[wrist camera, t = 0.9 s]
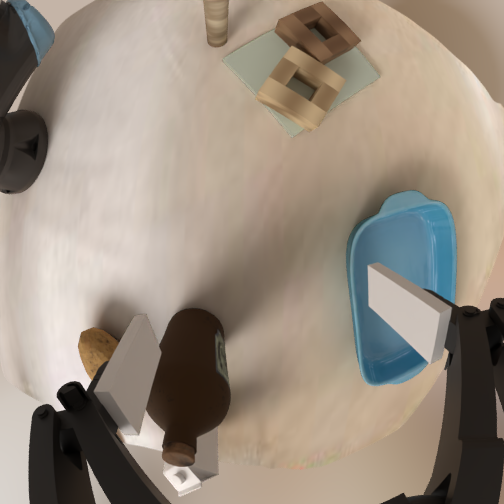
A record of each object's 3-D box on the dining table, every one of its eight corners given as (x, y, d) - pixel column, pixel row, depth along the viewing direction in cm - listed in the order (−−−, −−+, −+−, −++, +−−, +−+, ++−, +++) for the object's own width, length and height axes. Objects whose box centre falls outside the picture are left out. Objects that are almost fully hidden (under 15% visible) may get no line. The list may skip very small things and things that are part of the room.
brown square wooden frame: (274, 32, 31) (278, 19, 27) (314, 13, 31) (321, 1, 27) (312, 71, 34) (321, 61, 30) (350, 50, 33) (361, 40, 29)
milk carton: (217, 417, 49) (219, 492, 30) (198, 431, 50) (195, 501, 31) (189, 402, 47) (181, 480, 29) (171, 417, 48) (160, 490, 30)
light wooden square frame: (255, 99, 34) (258, 90, 30) (285, 56, 33) (291, 45, 29) (309, 132, 36) (318, 127, 32) (336, 88, 34) (346, 80, 31)
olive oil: (168, 357, 44) (140, 477, 20) (160, 304, 41) (109, 421, 17) (228, 357, 45) (236, 483, 21) (226, 303, 42) (232, 430, 18)
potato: (121, 312, 41) (104, 336, 33) (150, 376, 45) (141, 405, 37) (78, 319, 41) (58, 341, 33) (108, 379, 44) (96, 405, 37)
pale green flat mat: (222, 61, 33) (222, 58, 32) (316, 12, 31) (318, 8, 30) (291, 138, 37) (293, 136, 36) (377, 79, 35) (380, 77, 34)
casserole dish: (321, 204, 40) (339, 209, 33) (427, 178, 41) (453, 180, 34) (348, 381, 50) (361, 403, 43) (431, 342, 50) (448, 357, 44)
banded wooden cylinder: (203, 39, 32) (195, -23, 16) (219, 29, 31) (218, -33, 16) (215, 50, 33) (212, -11, 17) (231, 40, 32) (236, -22, 17)
